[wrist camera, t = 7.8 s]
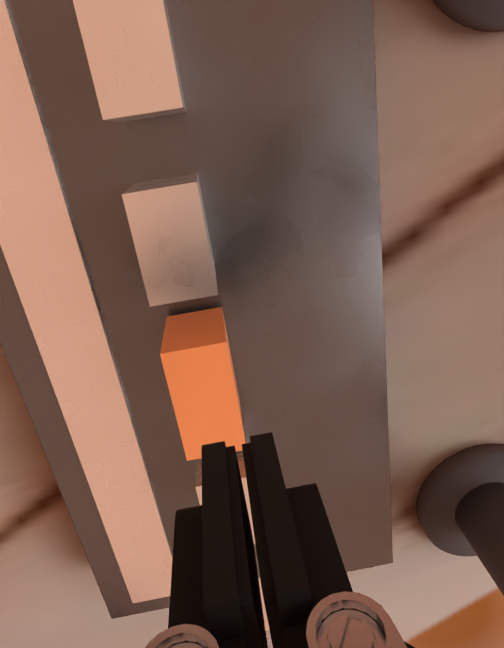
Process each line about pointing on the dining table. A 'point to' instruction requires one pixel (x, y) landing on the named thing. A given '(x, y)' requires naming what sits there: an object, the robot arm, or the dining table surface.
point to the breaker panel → (264, 252)
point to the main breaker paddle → (202, 380)
